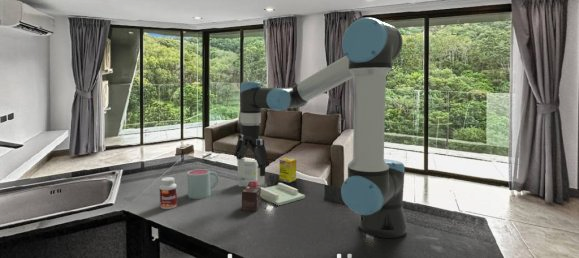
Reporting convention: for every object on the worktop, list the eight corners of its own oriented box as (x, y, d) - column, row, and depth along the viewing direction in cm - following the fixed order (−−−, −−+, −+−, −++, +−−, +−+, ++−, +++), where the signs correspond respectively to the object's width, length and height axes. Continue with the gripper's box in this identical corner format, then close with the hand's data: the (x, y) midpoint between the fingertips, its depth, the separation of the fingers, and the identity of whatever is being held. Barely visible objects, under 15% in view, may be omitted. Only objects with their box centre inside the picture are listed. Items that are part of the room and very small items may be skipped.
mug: (194, 200, 133) (193, 176, 132) (184, 194, 140) (183, 171, 138) (224, 193, 142) (223, 170, 141) (213, 187, 149) (212, 166, 147)
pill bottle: (160, 210, 122) (159, 182, 121) (159, 205, 128) (158, 177, 126) (178, 208, 125) (177, 180, 123) (176, 202, 130) (175, 175, 129)
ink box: (258, 184, 154) (258, 159, 153) (255, 187, 150) (255, 162, 148) (241, 183, 156) (240, 158, 154) (237, 186, 151) (237, 161, 149)
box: (256, 211, 122) (256, 192, 121) (241, 210, 123) (241, 191, 122) (261, 205, 128) (261, 187, 127) (246, 204, 129) (246, 186, 128)
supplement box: (279, 181, 158) (279, 159, 157) (286, 178, 163) (286, 157, 161) (289, 184, 155) (289, 161, 153) (296, 181, 160) (296, 159, 158)
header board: (304, 198, 136) (304, 190, 136) (278, 205, 128) (278, 198, 127) (278, 187, 150) (278, 180, 150) (252, 193, 141) (252, 186, 141)
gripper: (279, 127, 114) (278, 186, 117) (241, 119, 133) (241, 170, 136) (261, 129, 109) (261, 190, 112) (224, 120, 128) (225, 173, 131)
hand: (250, 179), depth 124 cm, fingers open, 13 cm apart
